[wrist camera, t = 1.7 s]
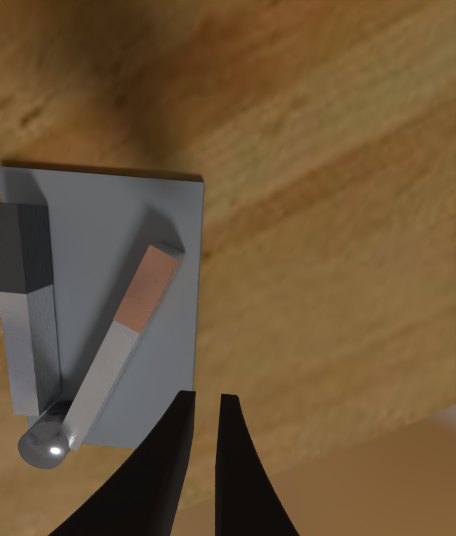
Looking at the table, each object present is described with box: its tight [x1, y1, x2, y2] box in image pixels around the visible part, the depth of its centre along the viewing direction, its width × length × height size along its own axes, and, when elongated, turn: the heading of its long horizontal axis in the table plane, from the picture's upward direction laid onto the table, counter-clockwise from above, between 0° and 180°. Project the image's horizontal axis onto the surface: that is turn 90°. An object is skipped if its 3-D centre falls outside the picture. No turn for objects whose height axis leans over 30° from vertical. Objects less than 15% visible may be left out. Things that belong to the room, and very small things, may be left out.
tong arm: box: [18, 241, 186, 469], centre depth 18 cm, size 20×4×3 cm, turn 151°
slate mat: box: [0, 166, 205, 449], centre depth 20 cm, size 24×15×1 cm, turn 175°
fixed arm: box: [0, 202, 61, 416], centre depth 18 cm, size 16×2×2 cm, turn 176°
